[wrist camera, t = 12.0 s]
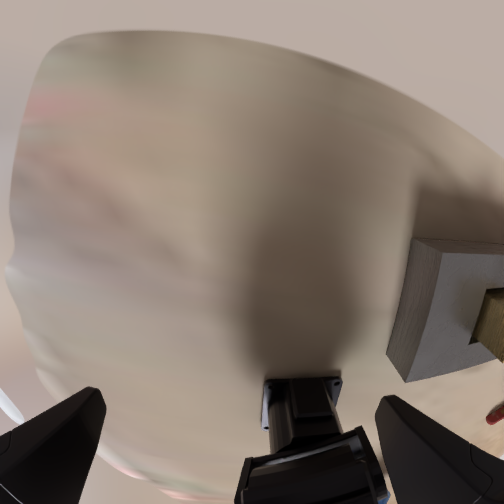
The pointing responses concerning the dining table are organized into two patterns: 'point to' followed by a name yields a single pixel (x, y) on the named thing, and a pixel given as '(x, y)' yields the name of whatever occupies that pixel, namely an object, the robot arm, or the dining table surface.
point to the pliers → (495, 416)
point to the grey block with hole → (443, 307)
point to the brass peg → (491, 322)
